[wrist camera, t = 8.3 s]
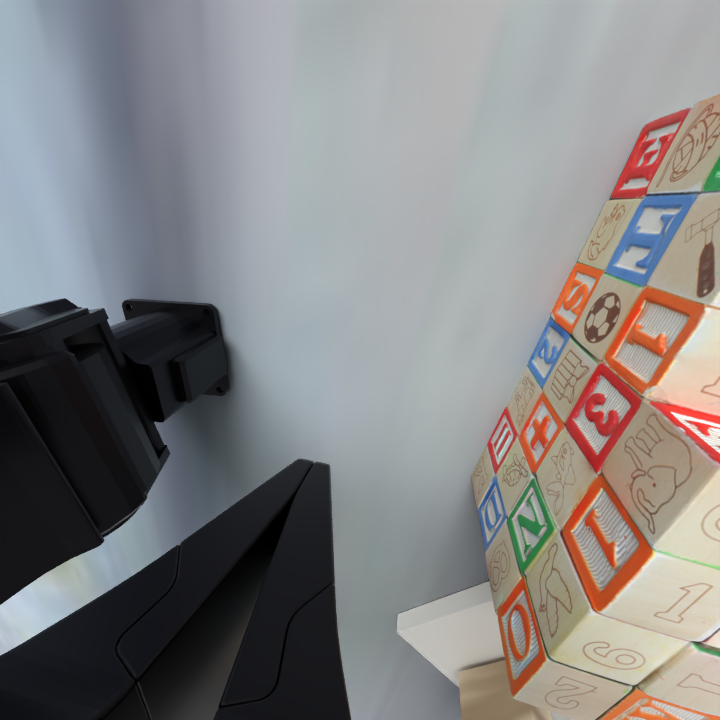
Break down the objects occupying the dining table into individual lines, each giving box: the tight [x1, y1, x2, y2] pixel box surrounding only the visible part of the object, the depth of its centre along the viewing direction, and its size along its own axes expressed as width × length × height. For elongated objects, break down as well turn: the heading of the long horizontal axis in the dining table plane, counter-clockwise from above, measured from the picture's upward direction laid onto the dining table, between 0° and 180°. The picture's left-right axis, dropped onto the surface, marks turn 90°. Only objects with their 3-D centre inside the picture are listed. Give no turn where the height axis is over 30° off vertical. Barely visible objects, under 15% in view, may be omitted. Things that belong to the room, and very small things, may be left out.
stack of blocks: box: [471, 94, 720, 720], centre depth 14 cm, size 21×6×12 cm, turn 167°
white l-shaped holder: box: [397, 581, 574, 720], centre depth 27 cm, size 12×10×6 cm
